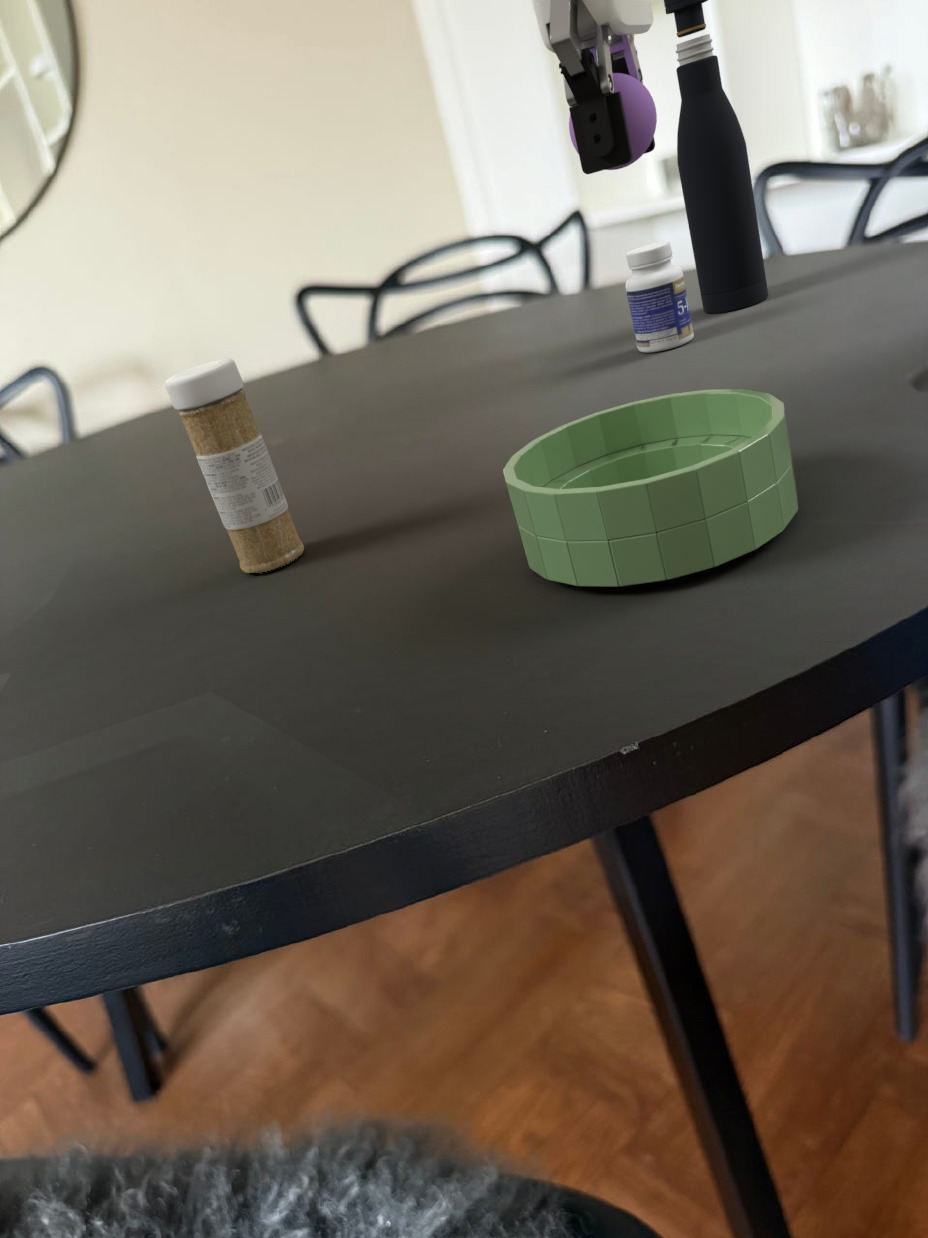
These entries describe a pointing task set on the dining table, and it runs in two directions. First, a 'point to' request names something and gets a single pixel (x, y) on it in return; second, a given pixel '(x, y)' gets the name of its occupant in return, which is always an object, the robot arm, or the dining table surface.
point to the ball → (633, 115)
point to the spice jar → (236, 464)
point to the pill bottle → (657, 299)
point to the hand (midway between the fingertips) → (620, 159)
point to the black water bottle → (715, 175)
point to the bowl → (654, 488)
